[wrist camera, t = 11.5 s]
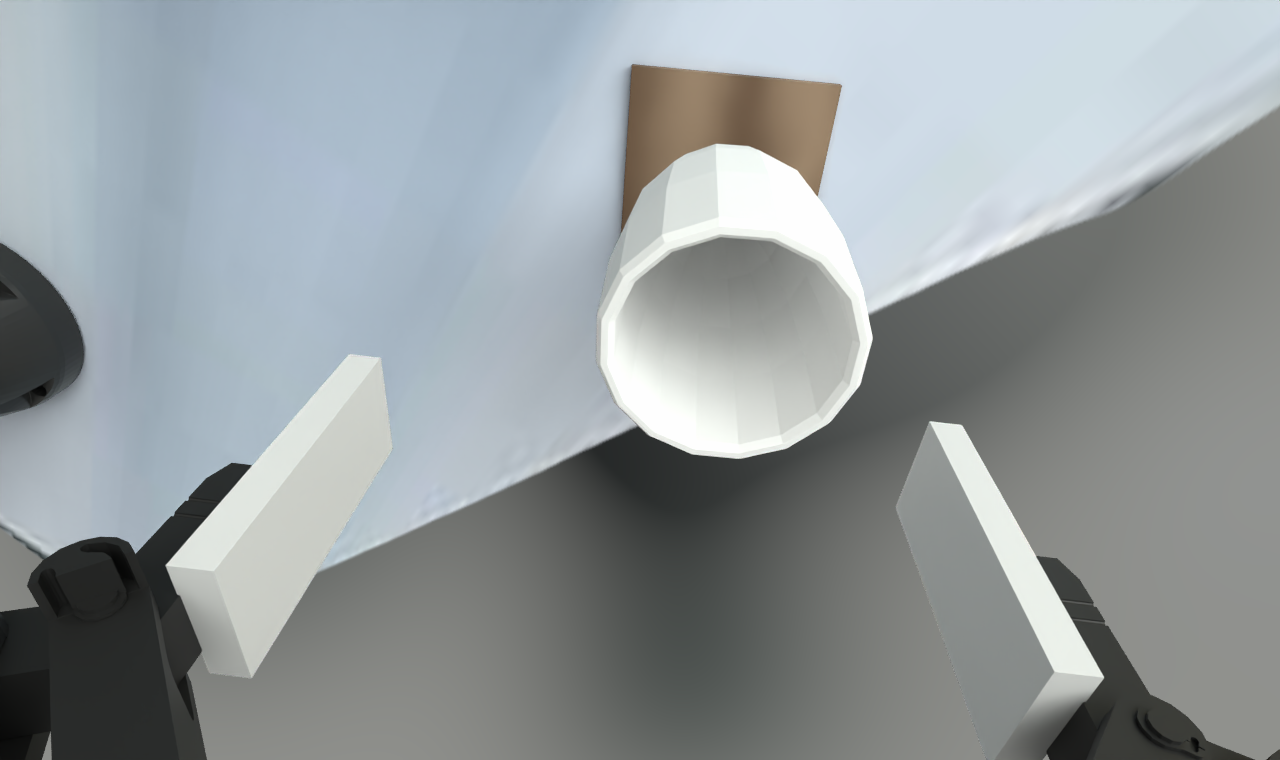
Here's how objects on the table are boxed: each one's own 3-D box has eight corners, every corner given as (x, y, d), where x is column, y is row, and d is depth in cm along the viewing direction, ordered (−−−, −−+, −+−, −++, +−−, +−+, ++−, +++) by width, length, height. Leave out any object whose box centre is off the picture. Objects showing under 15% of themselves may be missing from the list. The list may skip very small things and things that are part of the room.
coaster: (620, 258, 46) (619, 261, 45) (632, 64, 39) (631, 65, 39) (797, 276, 45) (799, 280, 45) (840, 84, 39) (841, 86, 39)
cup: (686, 285, 46) (673, 504, 28) (604, 147, 41) (524, 299, 23) (833, 212, 42) (928, 406, 24) (761, 53, 38) (810, 144, 20)
